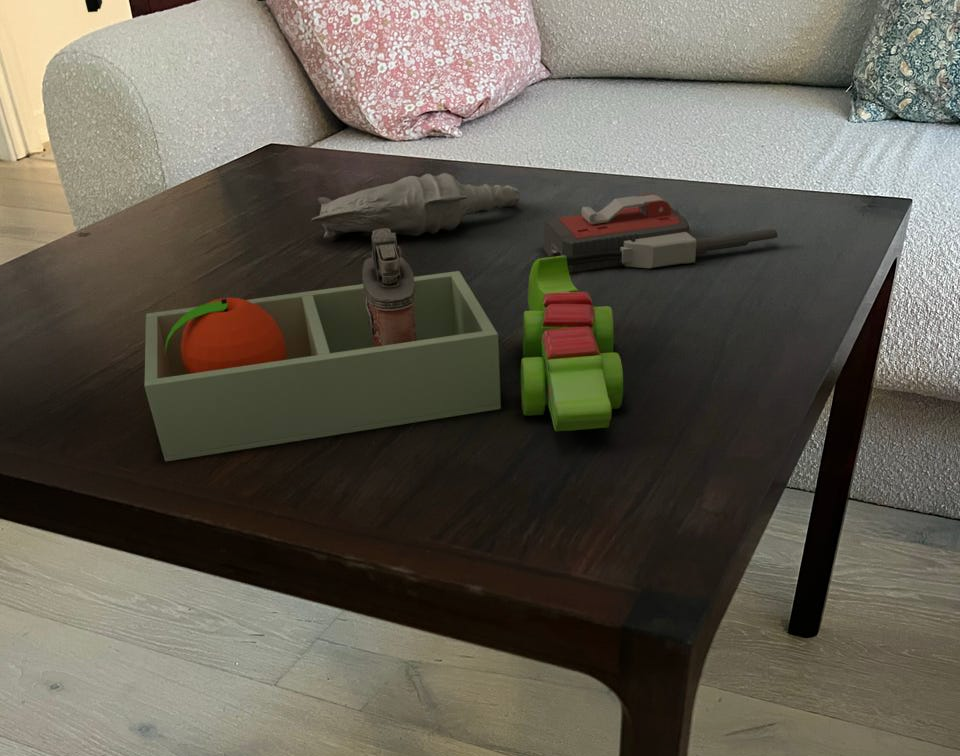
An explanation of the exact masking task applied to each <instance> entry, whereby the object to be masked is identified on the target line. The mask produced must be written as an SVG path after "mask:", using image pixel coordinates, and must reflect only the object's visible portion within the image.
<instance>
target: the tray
mask: <svg viewBox="0 0 960 756" xmlns="http://www.w3.org/2000/svg"><path fill="white" fill-rule="evenodd" d="M414 284H415V298H414V303H413V306H414V317H415V328H416V338H417V341H412V342H405V343H398V344H391V345H385V346H378V347H374V345H373V337H372V334H371V332H370V329H369V327H368V319H367V311H366V298H367V296H366V294H365V291H364V288H363V283H361V284H360V283H359V284H354V285H346V286H339V287H331V288H325V289H324V288H322V289H317V290H316V289H315V290H310V291H302V292H295V293H288V294H287V293H286V294H281V295H280V294H279V295H272V296H265V297H259V298H251V299H246V300H247V301H249V302H251V303H253V304H256V305H258V306H259V307H261V308H262V309H264V310H265V311H266V312H267V313H268V314H269V315H270V316H272V318H273V319H274V321H275V322H276V324H277V325H278V327H279V328H280V330H281V332H282V335H283V338H284V341H285V344H286V360H282V361H275V362H268V363H261V364H254V365H247V366H241V367H234V368H227V369H220V370H213V371H206V372H199V373H193V374H187V371H186V369H185V366H184V364H183V361H182V355H181V342H182V336H183V332H184V329H185V327H186V325H187V323H188V322H186V323H185V324H183V325H182V326H181V327H180V328H178V329H177V330H176V331H175V332H174V334H173V335H172V337H171V338H170V340H169V342H168V345H167V349H166V353H165V348H166V341H167V338H168V336H169V334H170V331H171V329H172V327H173V326H174V325H175V324H176V323H177V322H178V321H179V320H180V319H181V318H182V317H183V316H184V315H185V314H186V313H188V312H189V311H191V310H192V309H194V308H196V307H197V306H192V307H185V308H177V309H170V310H169V309H168V310H163V311H156V312H148V313H146V314H145V340H144V341H145V344H144V345H145V349H144V354H145V355H144V382H143V383H144V390H145V393H146V397H147V401H148V405H149V408H150V411H151V415H152V419H153V423H154V427H155V429H156V434H157V437H158V440H159V444H160V448H161V452H162V456H163V459H164V461H165V462H172V461H178V460H184V459H190V458H197V457H203V456H211V455H216V454H222V453H228V452H235V451H241V450H249V449H254V448H255V449H256V448H261V447H267V446H272V445H273V446H274V445H280V444H286V443H292V442H293V443H294V442H300V441H305V440H306V441H307V440H311V439H318V438H325V437H330V436H337V435H342V434H343V435H344V434H351V433H357V432H362V431H368V430H376V429H382V428H388V427H393V426H402V425H407V424H414V423H419V422H426V421H431V420H439V419H446V418H450V417H451V418H452V417H458V416H465V415H470V414H471V415H472V414H476V413H483V412H490V411H496V410H501V409H502V405H501V404H502V402H501V401H502V400H501V397H502V396H501V373H500V349H499V348H500V347H499V334H498V332H497V330H496V328H495V327H494V326H493V323H492V322H491V320H490V318H489V317H488V315H487V314H486V312H485V311H484V308H483V307H482V305H481V304H480V302H479V301H478V299H477V297H476V296H475V294H474V293H473V291H472V289H471V288H470V285H468V283H467V282H466V280H465V277H463V275H462V273H461V272H460V271H459V270H456V271H449V272H448V271H447V272H441V273H433V274H426V275H425V274H424V275H419V276H414ZM164 354H165V355H164Z"/></svg>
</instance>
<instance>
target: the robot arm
mask: <svg viewBox="0 0 960 756" xmlns="http://www.w3.org/2000/svg"><path fill="white" fill-rule="evenodd" d="M267 1H268V0H257V2H267ZM84 2H85V6H86V9H87V13H98V11H99V10H101V8H102V5H103V0H84Z"/></svg>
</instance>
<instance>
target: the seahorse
mask: <svg viewBox="0 0 960 756" xmlns="http://www.w3.org/2000/svg"><path fill="white" fill-rule="evenodd" d="M520 196H521V195H520V190H519V189H518V188H517V187H515V186H512V185H509V184H506V185H504V186H503V185H500V184H495V185H489V184H487V183H484V184H482V185H479V186H477V185H472V184H471V183H468V184H462V183H460V182H459V181H458V180H457V179H456V177H454V175H452V174H450V173H448V172H444V173H441V174H438V175H435V176H434V175H433V174H431V173H424V174H423V175H421V176H416V175H408V176H404V177H402V178H400V179H398V180H396V181H395V182H392V183H385V184H382V185H378V186H374V187H370V188H366V189H365V188H364V189H361V190H359V191H356V192H354V193H351V194H347V195H343V196H340V197H338V198H336V199H333V200H332V199H331V198H328V197H324V196H323V197H322V196H321V197H317V201H318V202H319V204H320V205H321V207H320V212H319V215H318V216H315V217H312V218H311V221H312V222H320V223H321V225H322V227H323V228H324V230H325V232H324V235H323V239H332V238H334V237H335V236H336V235H337V234H338V233H339V232H340V233H344V234H349V233H353V232H354V233H355V232H356V233H357V232H358V233H361V232H366V233H367V232H369V233H370V232H371V233H373V231H374V230H377V229H389V230H390V231H391V233H395V234H396V235H402V236H414V237H418V236H421V235H423V234H425V233H429V234H436V233H438V232H439V231H440V230H443V231H453V230H455V229H456V228H457V227H458V226H459V225H460V224H461V220H463V218H465V216H467V215H473V214H474V213H477V212H478V211H490V210H491V209H493V208H495V209H501V208H502V207H513V206H515V205H517V204H518V203H519V202H520V200H521V197H520Z"/></svg>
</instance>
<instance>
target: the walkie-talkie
mask: <svg viewBox="0 0 960 756" xmlns="http://www.w3.org/2000/svg"><path fill="white" fill-rule="evenodd" d="M691 231H692V226H691V223H690V222H688V220H687V219H686V218H685V217H684V216H682V215H681V213H680V212H679V211H678V210H676V209H673V208H672V207H671V205H670V204H669V202H667V201H666V200H664V199H663V198H662V197H661V196H659V195H658V194H656V193H647V194H641V195H639V196H637V195H633V196H625V197H617V198H614V199H613V200H611V202H609V203H608V204H607V205H606V206H605V207H604V208H602V209H601V210H599V211H595V210H594V209H593V208H592V207H590V206H583V207H582V208H581V214H578V215H572V216H571V215H570V216H564V217H558V218H551V219H550V218H549V219H544V221H543V251H544V252H545V254H546V255H547V256H548V257H556V256H563V255H564V256H566V259H567V266H568V271H569V273H575V272H576V273H577V272H578V273H579V272H585V271H591V270H597V269H603V268H609V267H610V268H611V267H615V266H622V265H623V266H624V267H629V268H639V269H640V268H641V269H654V268H661V267H668V266H669V267H670V266H675V265H681V264H692V263H695V262H696V255H697V256H698V255H703V254H706V253H708V252H711V251H717V250H718V251H719V250H725V249H732V248H738V247H745V246H748V245H749V243H754V242H759V241H766V240H772V239H776V238H778V232H777V230H776V229H774V228H769V229H763V230H756V231H748V232H742V233H735V234H734V233H733V234H728V235H722V236H715V237H709V238H708V237H707V238H706V237H698V238H697V237H696V238H695V237H694V236H692V235H691V234H690V233H691Z"/></svg>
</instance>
